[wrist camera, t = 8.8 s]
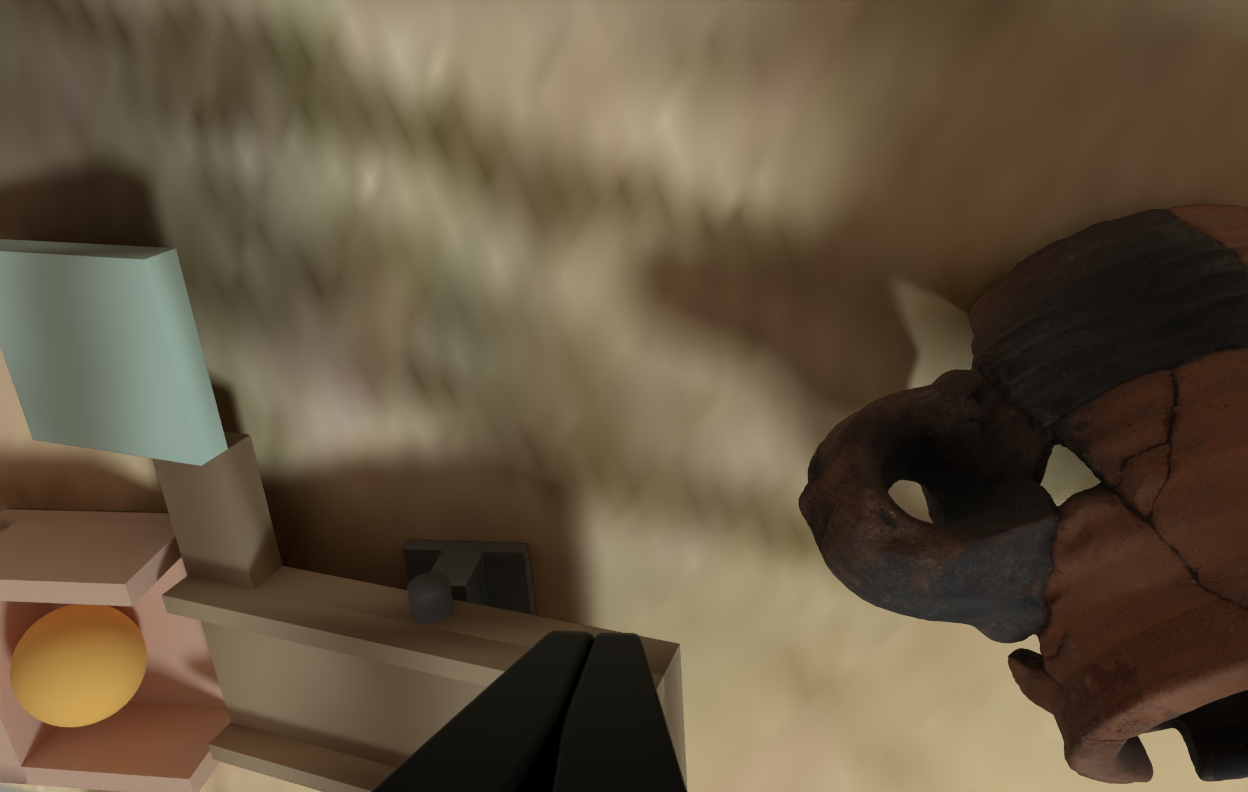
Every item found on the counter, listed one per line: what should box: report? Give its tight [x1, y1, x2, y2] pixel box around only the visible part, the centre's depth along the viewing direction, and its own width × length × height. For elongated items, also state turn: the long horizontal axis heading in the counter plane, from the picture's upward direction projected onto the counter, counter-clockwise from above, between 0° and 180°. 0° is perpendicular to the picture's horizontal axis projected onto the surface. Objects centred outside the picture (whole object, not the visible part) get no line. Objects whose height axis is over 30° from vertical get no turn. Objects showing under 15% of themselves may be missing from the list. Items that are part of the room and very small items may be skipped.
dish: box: [0, 509, 231, 792], centre depth 25 cm, size 6×6×3 cm
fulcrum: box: [403, 540, 537, 616], centre depth 24 cm, size 3×5×2 cm, turn 4°
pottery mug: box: [799, 204, 1248, 784], centre depth 18 cm, size 12×10×8 cm
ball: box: [10, 604, 147, 727], centre depth 24 cm, size 3×3×3 cm
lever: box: [0, 239, 687, 792], centre depth 21 cm, size 15×14×2 cm
